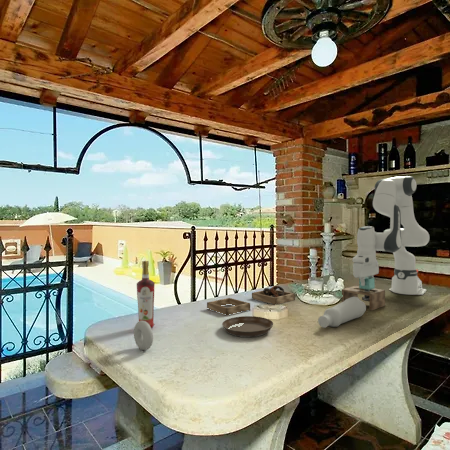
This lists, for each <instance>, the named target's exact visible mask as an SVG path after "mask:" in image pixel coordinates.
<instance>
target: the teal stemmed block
mask: <svg viewBox="0 0 450 450" xmlns="http://www.w3.org/2000/svg"><path fill="white" fill-rule="evenodd" d="M375 279H376V278H375V277H373V278H372V277H368V276H367V277H365V279H364V280H365V282H366V285H365V286H362V285H361V281H360V278H358V286H359V288H360V289H364V291H366V292H371V291H370V290H371V289H376V287H375V285H376V284H375ZM361 301H363V302H364V301H365V302H369V296H368V295H363V296H362V297H361Z"/></svg>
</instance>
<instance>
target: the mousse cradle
mask: <svg viewBox="0 0 450 450" xmlns="http://www.w3.org/2000/svg"><path fill="white" fill-rule="evenodd" d="M226 304H232V305H235V306H228V307H227V306H221V305H226ZM207 308H209V309H211V310H214V311H217V312H220V313H223V314H226V315H229V314H233V313H237V312H241V311H245V312H247V311H246V310H249V311H251V302H247V301H243V300H239V299H236V298H231V297H227V298H222V299H217V300H212V301H207V302H206V309H207ZM211 310H210V311H211ZM214 311H213V312H214ZM217 312H216V313H217ZM220 313H219V314H220ZM241 313H242V312H241ZM223 314H222V315H223ZM237 314H238V313H237ZM226 315H225V316H226ZM233 315H234V314H233ZM229 316H230V315H229Z"/></svg>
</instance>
